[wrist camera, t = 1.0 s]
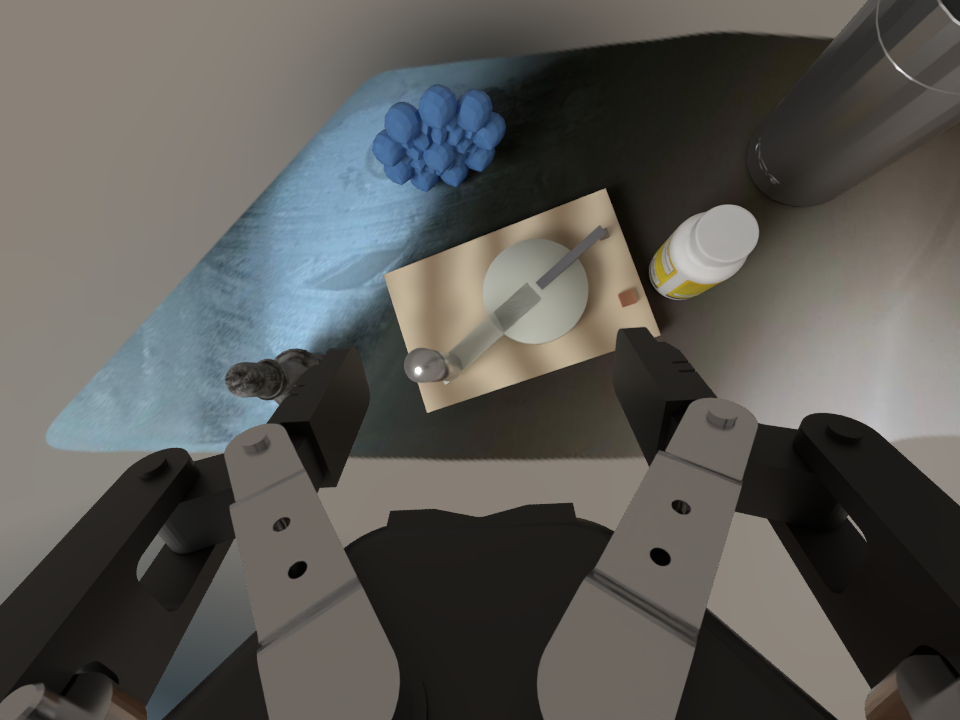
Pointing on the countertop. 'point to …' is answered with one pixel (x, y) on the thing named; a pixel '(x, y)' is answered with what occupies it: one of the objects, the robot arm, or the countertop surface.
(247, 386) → the dark chess piece
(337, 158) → the countertop surface
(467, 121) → the grapes
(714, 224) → the supplement bottle
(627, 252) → the dial base
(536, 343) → the dial
